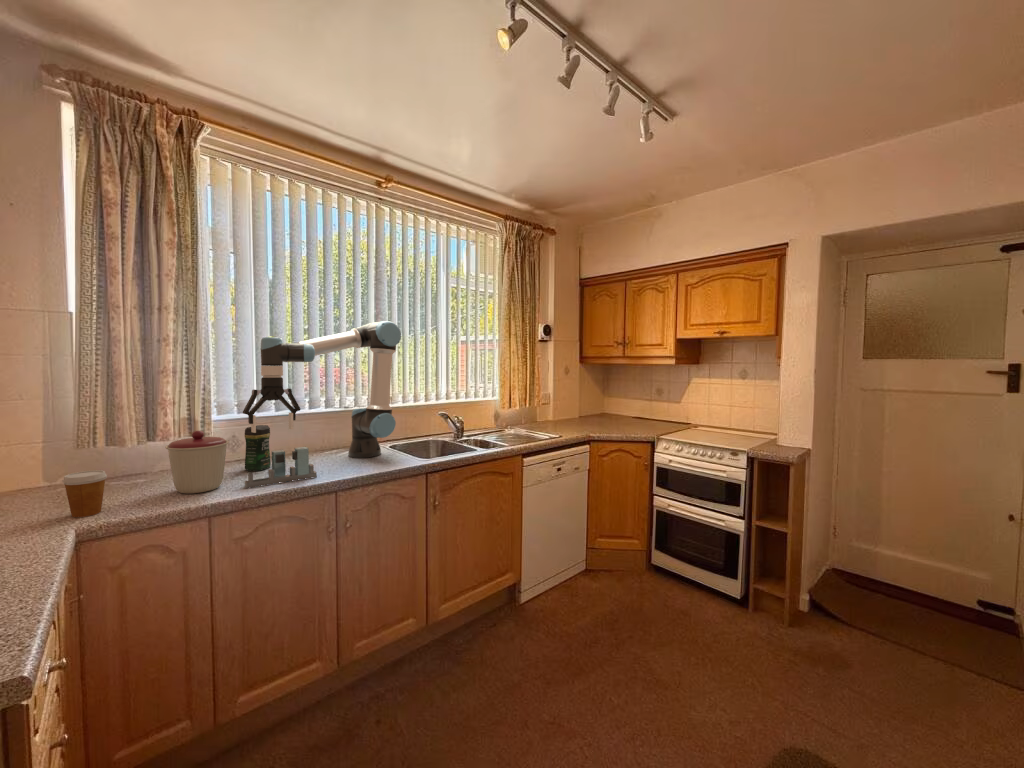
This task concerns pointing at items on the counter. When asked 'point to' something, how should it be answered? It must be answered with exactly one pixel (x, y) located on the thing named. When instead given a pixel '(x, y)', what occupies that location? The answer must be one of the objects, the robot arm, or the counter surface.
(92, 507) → the disposable coffee cup
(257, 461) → the coffee jar
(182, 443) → the canister
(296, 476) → the rail
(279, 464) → the grey rectangular block
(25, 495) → the counter surface
